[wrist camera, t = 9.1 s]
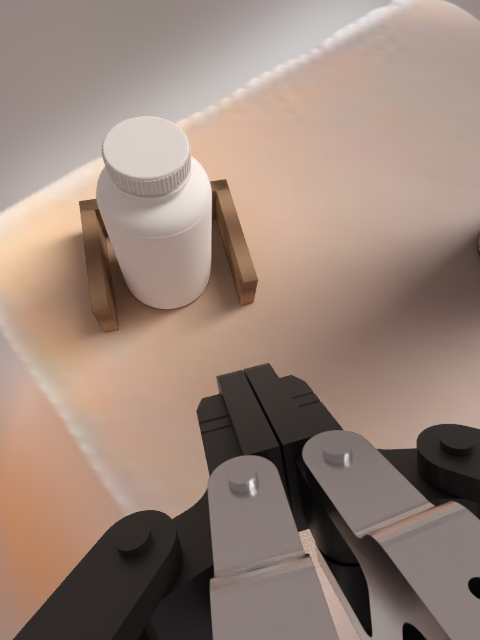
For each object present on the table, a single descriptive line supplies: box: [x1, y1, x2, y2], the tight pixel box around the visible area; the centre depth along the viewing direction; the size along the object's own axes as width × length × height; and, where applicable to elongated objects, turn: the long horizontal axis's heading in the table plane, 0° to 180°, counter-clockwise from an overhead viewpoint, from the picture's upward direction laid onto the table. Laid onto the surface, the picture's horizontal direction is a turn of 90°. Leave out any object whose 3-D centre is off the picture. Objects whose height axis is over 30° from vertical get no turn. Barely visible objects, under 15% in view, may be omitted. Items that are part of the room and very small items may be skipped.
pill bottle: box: [96, 116, 212, 309], centre depth 31 cm, size 8×8×15 cm
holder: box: [79, 179, 258, 332], centre depth 37 cm, size 11×13×4 cm
